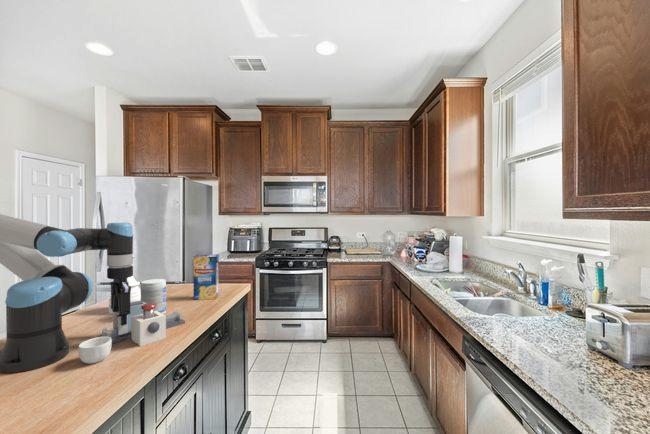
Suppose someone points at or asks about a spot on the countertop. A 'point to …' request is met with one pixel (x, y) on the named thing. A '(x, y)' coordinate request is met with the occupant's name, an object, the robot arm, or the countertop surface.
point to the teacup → (95, 349)
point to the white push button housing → (148, 328)
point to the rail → (128, 335)
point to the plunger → (148, 310)
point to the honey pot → (131, 292)
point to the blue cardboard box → (206, 277)
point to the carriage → (134, 311)
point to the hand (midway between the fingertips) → (120, 331)
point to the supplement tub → (154, 293)
